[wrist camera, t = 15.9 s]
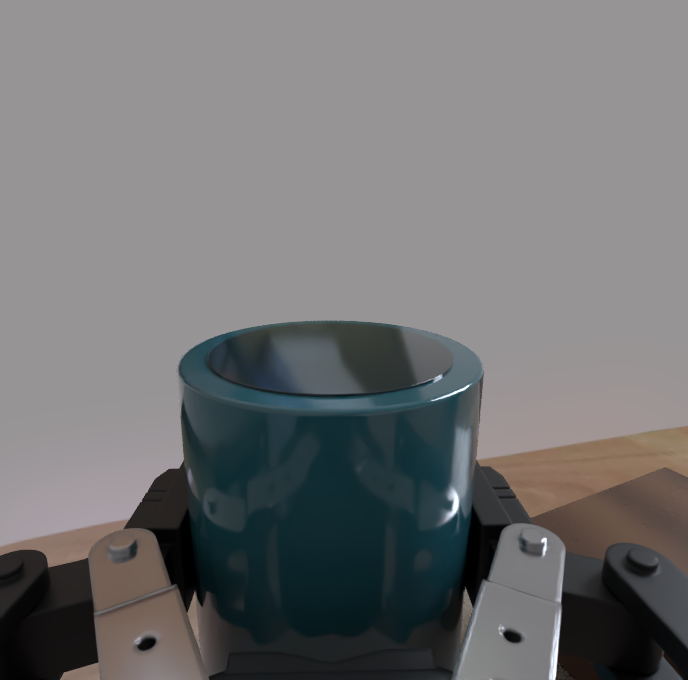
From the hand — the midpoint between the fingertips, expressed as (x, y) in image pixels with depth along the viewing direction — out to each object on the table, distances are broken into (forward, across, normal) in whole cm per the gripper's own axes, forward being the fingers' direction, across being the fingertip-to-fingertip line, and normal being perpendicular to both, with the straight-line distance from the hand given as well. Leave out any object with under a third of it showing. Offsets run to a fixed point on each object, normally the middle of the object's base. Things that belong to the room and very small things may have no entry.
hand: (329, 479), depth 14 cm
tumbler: (-2, 0, +6) cm, 6 cm away
